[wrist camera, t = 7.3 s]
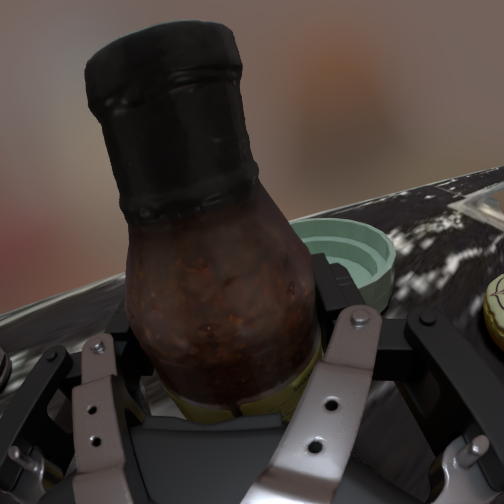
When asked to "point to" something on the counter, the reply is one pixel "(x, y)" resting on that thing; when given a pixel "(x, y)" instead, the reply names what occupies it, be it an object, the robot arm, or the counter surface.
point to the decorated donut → (495, 311)
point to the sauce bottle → (202, 227)
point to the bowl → (354, 254)
